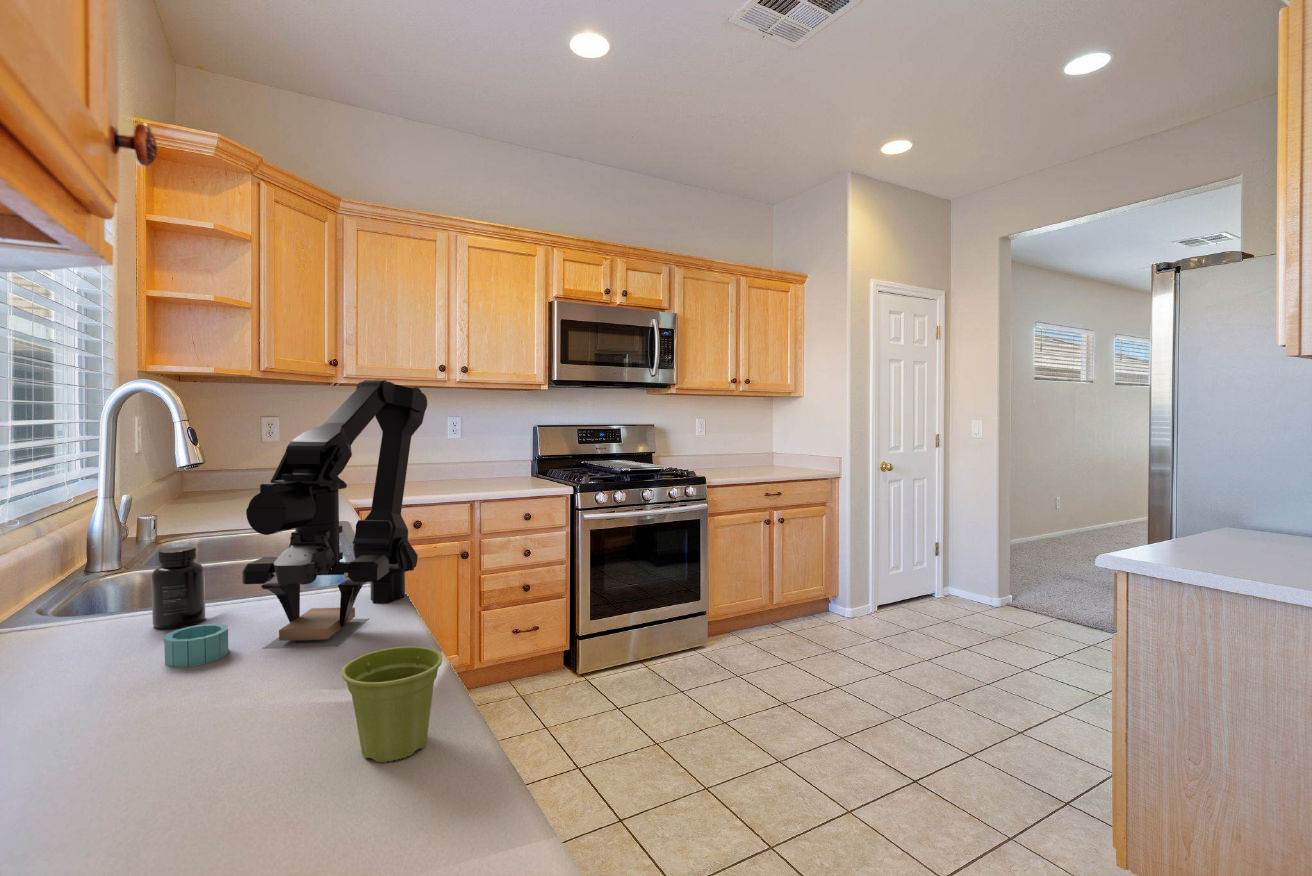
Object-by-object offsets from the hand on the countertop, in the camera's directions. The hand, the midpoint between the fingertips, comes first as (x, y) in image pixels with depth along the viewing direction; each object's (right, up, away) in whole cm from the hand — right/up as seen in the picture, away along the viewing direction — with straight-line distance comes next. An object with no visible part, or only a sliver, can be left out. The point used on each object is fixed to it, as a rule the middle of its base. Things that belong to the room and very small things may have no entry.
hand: (319, 626), depth 93 cm
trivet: (0, -2, 0) cm, 2 cm away
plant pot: (+24, -3, -30) cm, 38 cm away
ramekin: (-11, -2, -9) cm, 15 cm away
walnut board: (0, 0, 0) cm, 0 cm away
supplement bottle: (-27, -2, +8) cm, 28 cm away
